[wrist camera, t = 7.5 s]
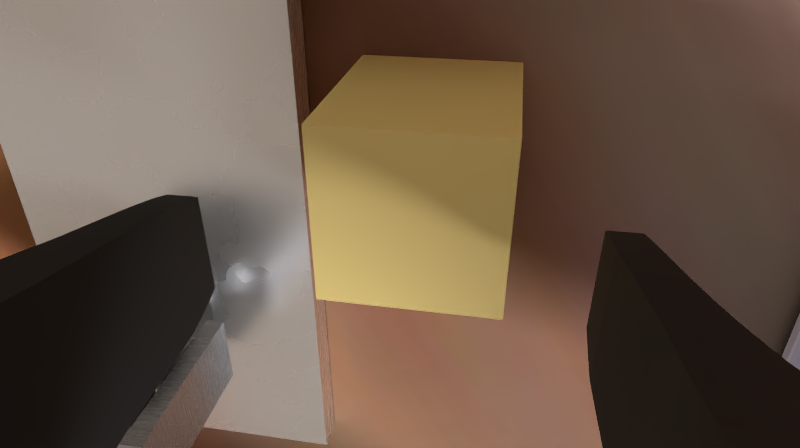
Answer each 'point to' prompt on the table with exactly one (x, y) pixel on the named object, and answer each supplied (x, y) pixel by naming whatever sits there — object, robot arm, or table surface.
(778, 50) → the table surface
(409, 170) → the pale yellow cube
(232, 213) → the trolley wheel
